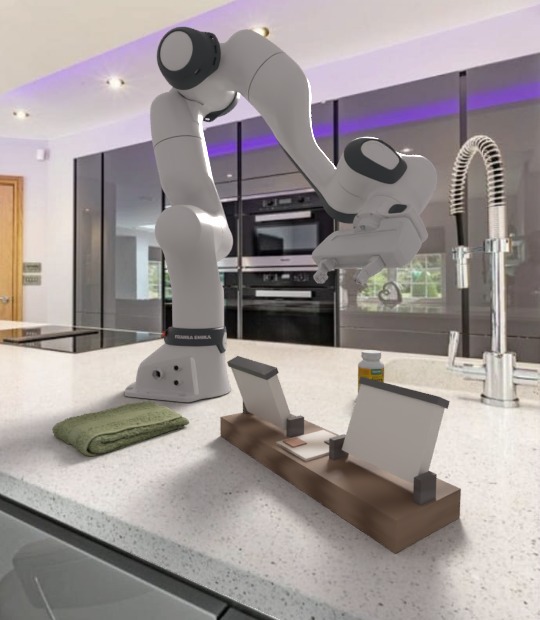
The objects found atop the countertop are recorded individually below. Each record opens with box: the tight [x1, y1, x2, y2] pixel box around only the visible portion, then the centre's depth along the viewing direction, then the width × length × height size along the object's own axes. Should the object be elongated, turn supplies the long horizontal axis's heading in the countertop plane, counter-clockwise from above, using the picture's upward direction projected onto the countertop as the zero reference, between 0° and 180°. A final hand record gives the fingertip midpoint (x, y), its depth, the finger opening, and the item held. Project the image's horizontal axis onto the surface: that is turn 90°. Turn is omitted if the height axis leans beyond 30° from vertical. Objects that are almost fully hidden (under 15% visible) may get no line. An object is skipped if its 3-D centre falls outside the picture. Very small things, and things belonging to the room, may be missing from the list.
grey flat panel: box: [342, 377, 450, 484], centre depth 44 cm, size 10×2×9 cm, turn 34°
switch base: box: [219, 400, 462, 554], centre depth 52 cm, size 33×10×5 cm, turn 34°
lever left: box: [226, 355, 292, 430], centre depth 58 cm, size 10×2×9 cm, turn 34°
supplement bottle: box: [357, 349, 385, 393], centre depth 85 cm, size 5×5×10 cm
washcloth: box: [51, 400, 190, 457], centre depth 64 cm, size 13×18×3 cm
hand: (336, 280), depth 66 cm, fingers open, 8 cm apart
